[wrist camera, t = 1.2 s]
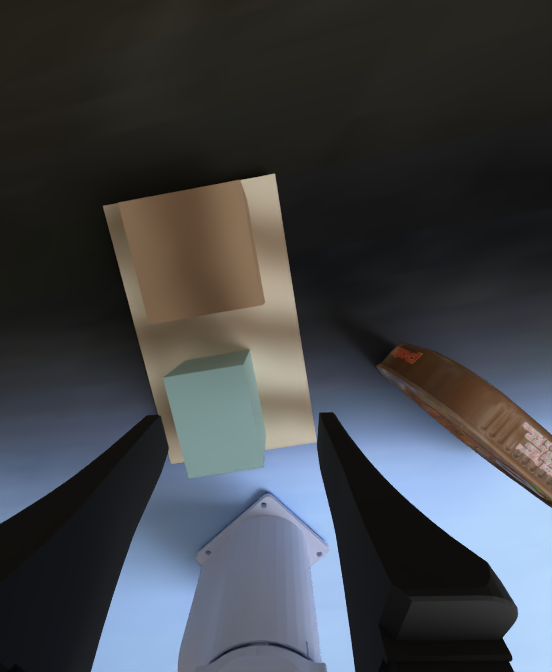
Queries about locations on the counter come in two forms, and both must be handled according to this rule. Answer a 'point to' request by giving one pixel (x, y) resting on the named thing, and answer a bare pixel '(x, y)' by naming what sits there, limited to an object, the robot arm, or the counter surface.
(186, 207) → the walnut block
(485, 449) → the tin
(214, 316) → the birch board
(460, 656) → the robot arm
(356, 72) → the counter surface
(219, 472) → the teal brick
